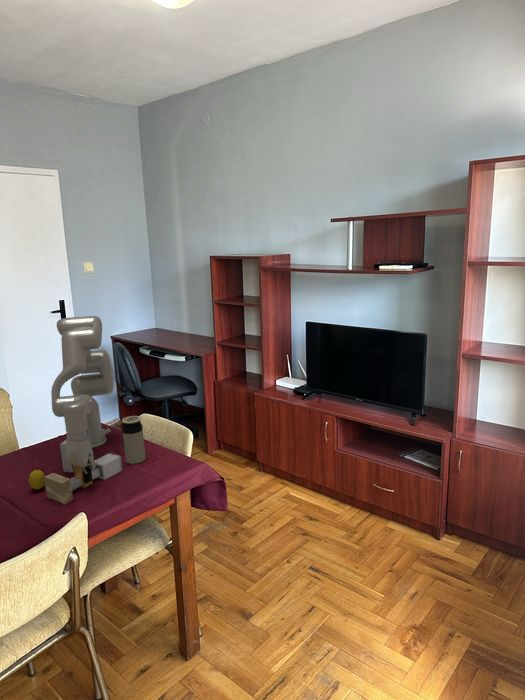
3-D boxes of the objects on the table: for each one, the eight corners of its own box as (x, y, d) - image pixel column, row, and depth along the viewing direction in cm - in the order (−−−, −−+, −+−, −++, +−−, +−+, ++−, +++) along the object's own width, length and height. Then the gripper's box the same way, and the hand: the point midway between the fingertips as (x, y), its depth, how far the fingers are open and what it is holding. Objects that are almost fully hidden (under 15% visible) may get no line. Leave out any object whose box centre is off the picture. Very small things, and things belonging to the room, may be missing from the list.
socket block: (55, 492, 181) (52, 472, 180) (73, 499, 176) (70, 479, 174) (47, 497, 179) (44, 476, 177) (64, 504, 173) (61, 483, 171)
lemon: (37, 494, 181) (34, 474, 179) (27, 491, 183) (24, 471, 182) (50, 487, 185) (47, 468, 184) (40, 484, 188) (37, 465, 186)
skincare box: (73, 472, 197) (69, 444, 194) (63, 472, 197) (59, 444, 195) (81, 465, 202) (77, 438, 200) (71, 465, 203) (68, 437, 200)
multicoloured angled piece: (106, 469, 197) (103, 448, 195) (114, 472, 195) (111, 451, 193) (64, 491, 181) (61, 468, 179) (72, 494, 179) (69, 471, 177)
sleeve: (111, 466, 200) (110, 452, 199) (122, 470, 197) (121, 456, 196) (93, 476, 193) (91, 461, 192) (104, 479, 190) (102, 465, 188)
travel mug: (148, 456, 209) (144, 415, 204) (140, 464, 201) (136, 423, 197) (130, 455, 210) (126, 415, 206) (122, 463, 202) (117, 422, 198)
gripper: (54, 434, 183) (61, 479, 187) (84, 442, 174) (90, 490, 178) (71, 427, 189) (77, 471, 193) (101, 435, 180) (107, 481, 184)
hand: (83, 479), depth 185 cm, fingers closed on multicoloured angled piece, 4 cm apart
